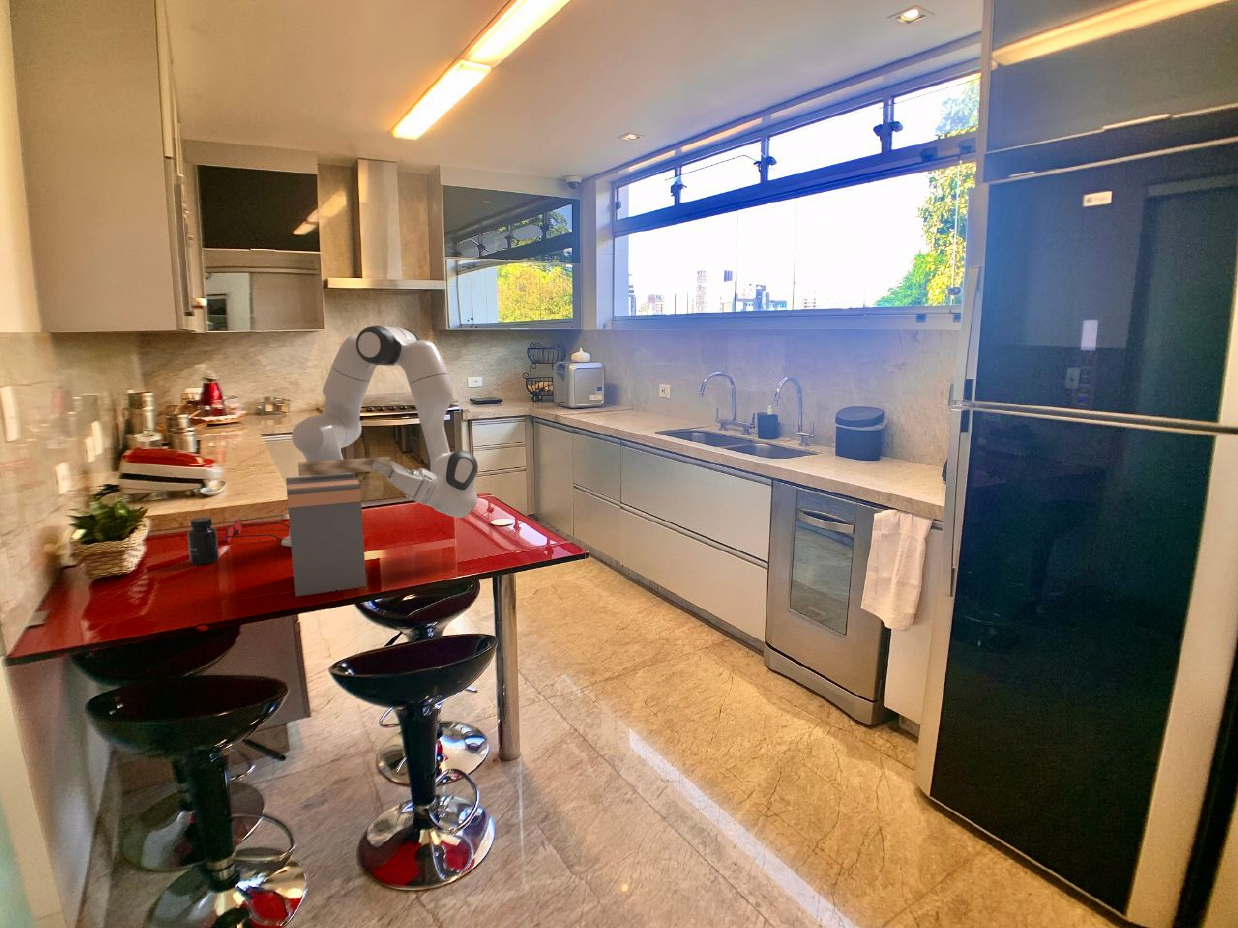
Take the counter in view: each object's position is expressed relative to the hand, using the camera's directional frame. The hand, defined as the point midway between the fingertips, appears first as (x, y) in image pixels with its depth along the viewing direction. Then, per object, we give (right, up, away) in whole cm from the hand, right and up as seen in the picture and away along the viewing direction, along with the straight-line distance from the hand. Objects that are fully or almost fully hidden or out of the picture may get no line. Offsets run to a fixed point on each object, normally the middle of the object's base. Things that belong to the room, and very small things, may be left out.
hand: (371, 462), depth 176 cm
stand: (-9, -30, -4) cm, 32 cm away
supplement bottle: (-49, -27, +10) cm, 57 cm away
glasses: (-47, -23, +34) cm, 62 cm away
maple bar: (-6, -2, -2) cm, 7 cm away
